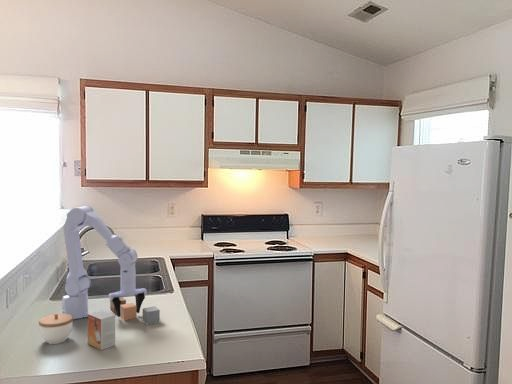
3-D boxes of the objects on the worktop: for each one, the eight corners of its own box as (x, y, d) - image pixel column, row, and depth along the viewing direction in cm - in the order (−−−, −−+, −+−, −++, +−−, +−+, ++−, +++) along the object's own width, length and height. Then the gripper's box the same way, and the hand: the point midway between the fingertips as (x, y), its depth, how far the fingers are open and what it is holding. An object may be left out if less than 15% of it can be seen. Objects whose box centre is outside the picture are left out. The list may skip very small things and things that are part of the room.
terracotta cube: (124, 320, 170) (123, 308, 170) (120, 317, 174) (120, 304, 174) (136, 318, 173) (136, 306, 172) (132, 314, 177) (132, 302, 176)
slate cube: (147, 324, 166) (147, 312, 166) (142, 321, 170) (142, 308, 170) (159, 322, 169) (159, 309, 168) (154, 318, 173) (154, 306, 172)
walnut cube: (113, 314, 178) (113, 302, 177) (110, 310, 182) (110, 298, 181) (126, 311, 180) (125, 300, 180) (122, 308, 184) (122, 297, 184)
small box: (87, 344, 147) (87, 313, 147) (102, 339, 152) (101, 309, 151) (101, 350, 142) (100, 319, 142) (115, 345, 147) (115, 314, 146)
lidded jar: (64, 332, 158) (63, 306, 157) (79, 340, 151) (78, 313, 150) (33, 341, 149) (33, 314, 149) (48, 349, 143) (47, 321, 142)
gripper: (112, 285, 165) (112, 320, 166) (149, 280, 173) (149, 313, 174) (107, 281, 171) (107, 315, 172) (143, 276, 179) (143, 308, 180)
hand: (128, 314), depth 173 cm, fingers open, 7 cm apart
